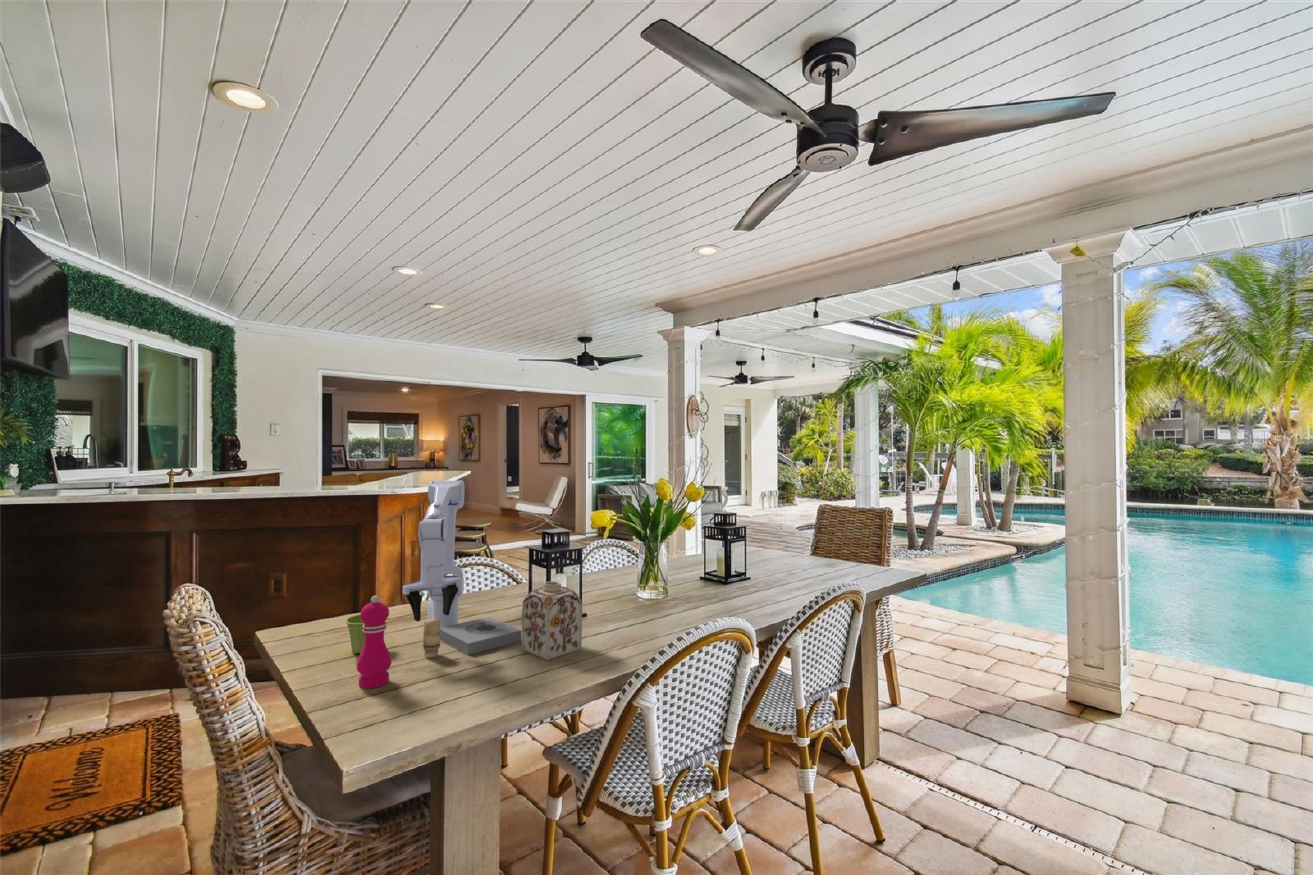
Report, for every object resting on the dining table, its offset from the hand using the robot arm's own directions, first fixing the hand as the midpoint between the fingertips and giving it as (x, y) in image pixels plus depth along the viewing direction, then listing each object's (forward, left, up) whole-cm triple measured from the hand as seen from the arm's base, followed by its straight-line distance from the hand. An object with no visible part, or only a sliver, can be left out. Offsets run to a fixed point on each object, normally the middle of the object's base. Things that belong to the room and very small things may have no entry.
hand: (431, 617), depth 153 cm
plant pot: (-16, -11, -10) cm, 22 cm away
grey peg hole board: (-3, +15, -10) cm, 18 cm away
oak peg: (0, 0, -10) cm, 10 cm away
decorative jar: (+18, +25, -10) cm, 32 cm away
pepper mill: (+8, -17, -10) cm, 21 cm away
